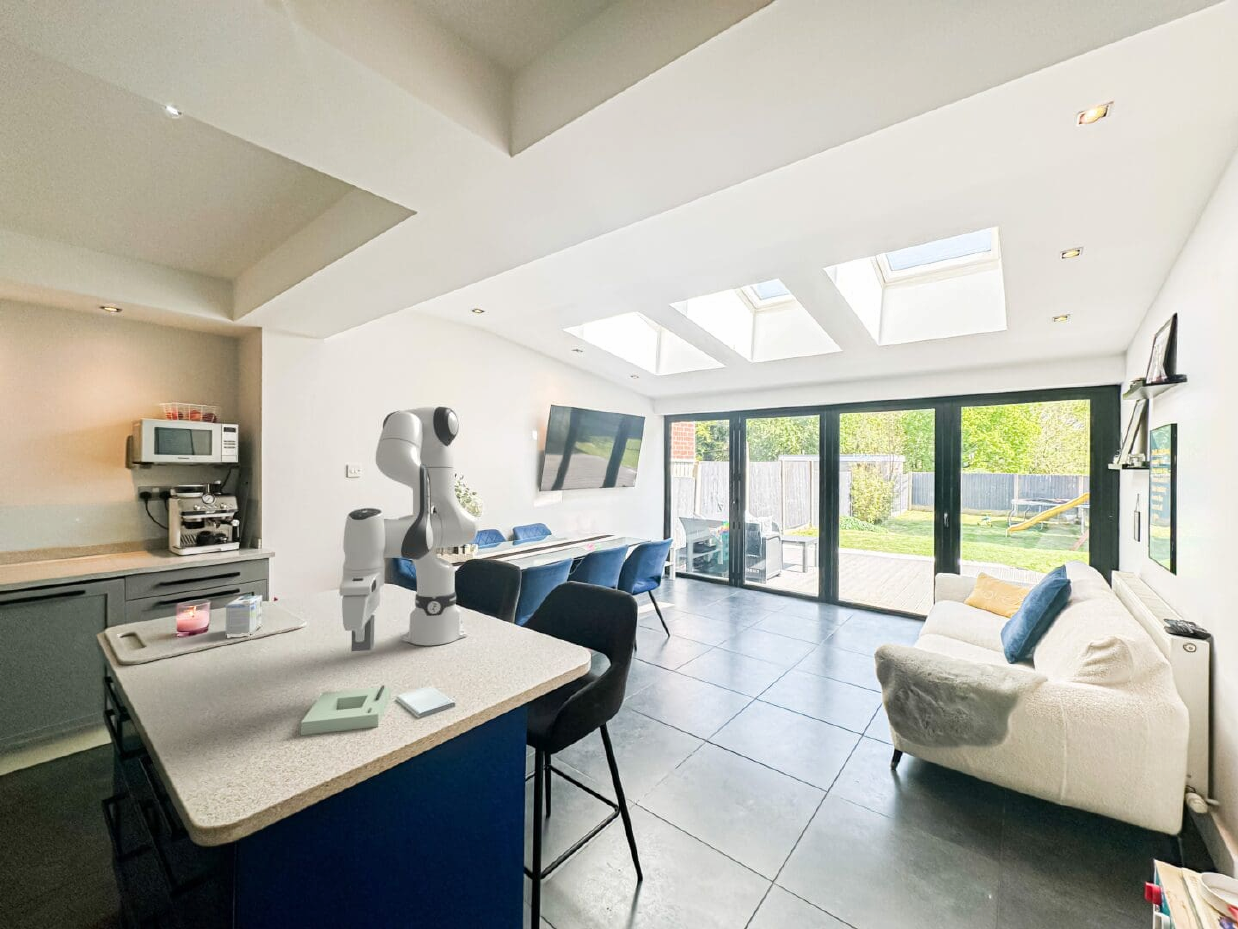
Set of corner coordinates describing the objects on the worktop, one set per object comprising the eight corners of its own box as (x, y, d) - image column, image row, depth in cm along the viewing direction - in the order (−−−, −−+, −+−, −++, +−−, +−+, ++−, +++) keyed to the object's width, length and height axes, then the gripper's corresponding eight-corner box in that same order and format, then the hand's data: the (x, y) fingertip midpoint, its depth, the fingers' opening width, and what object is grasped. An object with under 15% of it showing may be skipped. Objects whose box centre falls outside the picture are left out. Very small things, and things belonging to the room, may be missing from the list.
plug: (355, 645, 122) (356, 614, 122) (374, 644, 123) (374, 613, 123) (351, 651, 118) (351, 620, 118) (370, 650, 119) (370, 619, 119)
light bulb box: (238, 629, 168) (239, 596, 168) (262, 627, 170) (263, 594, 170) (224, 639, 158) (225, 604, 158) (250, 637, 160) (250, 602, 160)
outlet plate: (322, 703, 114) (323, 689, 114) (390, 697, 117) (390, 683, 117) (300, 735, 100) (301, 718, 100) (378, 726, 104) (378, 710, 104)
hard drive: (455, 701, 113) (431, 684, 122) (419, 713, 107) (396, 694, 116) (455, 709, 113) (431, 691, 122) (419, 721, 107) (396, 702, 116)
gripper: (360, 568, 129) (359, 622, 130) (337, 590, 109) (336, 654, 110) (387, 568, 131) (386, 621, 131) (369, 589, 111) (368, 652, 111)
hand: (363, 636), depth 120 cm, fingers closed on plug, 4 cm apart
